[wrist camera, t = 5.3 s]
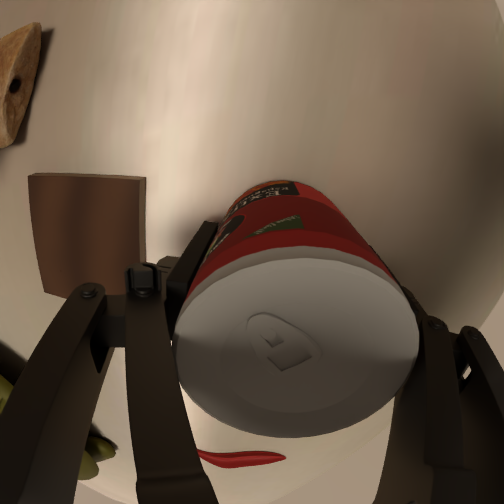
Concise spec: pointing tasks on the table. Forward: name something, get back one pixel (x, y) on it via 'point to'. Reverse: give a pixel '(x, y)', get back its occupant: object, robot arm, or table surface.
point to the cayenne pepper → (240, 458)
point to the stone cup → (17, 77)
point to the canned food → (292, 319)
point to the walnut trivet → (86, 229)
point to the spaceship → (93, 449)
